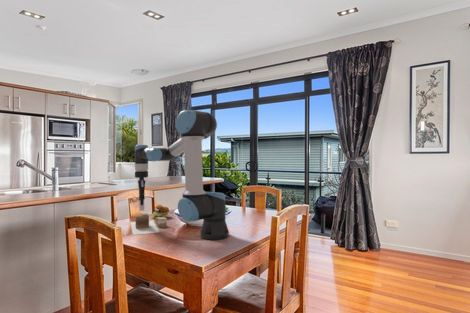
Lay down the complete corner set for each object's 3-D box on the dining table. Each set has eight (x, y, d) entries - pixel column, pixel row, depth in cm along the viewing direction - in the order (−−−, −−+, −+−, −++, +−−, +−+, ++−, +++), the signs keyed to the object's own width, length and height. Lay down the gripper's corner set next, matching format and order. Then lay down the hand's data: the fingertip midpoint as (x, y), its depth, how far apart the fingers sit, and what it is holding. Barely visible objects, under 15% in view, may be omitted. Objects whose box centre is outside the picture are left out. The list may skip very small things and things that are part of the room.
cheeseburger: (148, 218, 202) (151, 203, 203) (162, 219, 209) (165, 205, 210) (155, 220, 194) (158, 204, 196) (169, 221, 201) (172, 206, 203)
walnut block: (147, 225, 181) (148, 227, 174) (135, 226, 178) (136, 228, 171) (147, 213, 180) (148, 215, 174) (135, 214, 178) (136, 216, 171)
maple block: (166, 226, 177) (167, 218, 177) (158, 227, 174) (158, 219, 174) (163, 225, 181) (163, 216, 181) (155, 225, 178) (155, 217, 179)
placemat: (159, 232, 164) (159, 232, 164) (132, 235, 159) (132, 234, 159) (153, 220, 194) (153, 220, 194) (130, 222, 188) (130, 222, 188)
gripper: (134, 170, 183) (134, 208, 183) (135, 171, 170) (135, 212, 171) (147, 170, 185) (147, 208, 186) (149, 171, 173) (149, 211, 173)
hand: (141, 210), depth 178 cm, fingers closed
